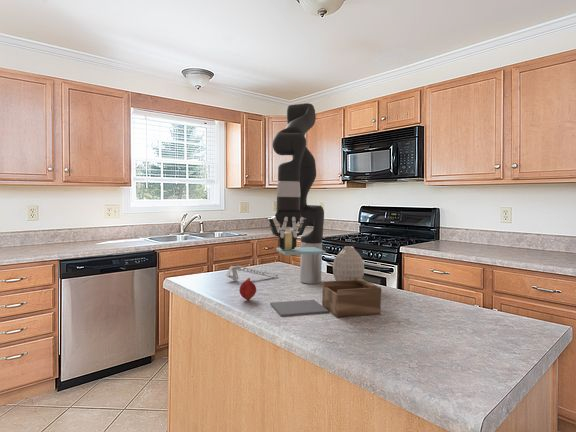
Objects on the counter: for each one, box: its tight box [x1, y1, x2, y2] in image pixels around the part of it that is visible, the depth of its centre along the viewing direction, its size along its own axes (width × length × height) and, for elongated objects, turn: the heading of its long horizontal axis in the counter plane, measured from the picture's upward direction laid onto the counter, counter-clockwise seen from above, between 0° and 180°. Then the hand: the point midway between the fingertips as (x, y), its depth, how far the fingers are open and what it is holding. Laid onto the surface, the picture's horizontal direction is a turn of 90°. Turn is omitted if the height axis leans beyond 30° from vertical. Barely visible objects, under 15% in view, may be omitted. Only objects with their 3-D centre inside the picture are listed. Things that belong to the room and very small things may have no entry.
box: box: [321, 277, 382, 319], centre depth 121 cm, size 12×15×9 cm
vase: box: [332, 245, 365, 281], centre depth 152 cm, size 13×13×17 cm
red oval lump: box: [239, 277, 257, 301], centre depth 130 cm, size 6×6×8 cm
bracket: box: [225, 265, 279, 282], centre depth 162 cm, size 3×21×10 cm, turn 113°
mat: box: [269, 299, 330, 317], centre depth 122 cm, size 13×16×1 cm
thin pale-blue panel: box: [275, 232, 327, 256], centre depth 121 cm, size 10×14×6 cm
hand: (287, 248), depth 119 cm, fingers closed on thin pale-blue panel, 3 cm apart
